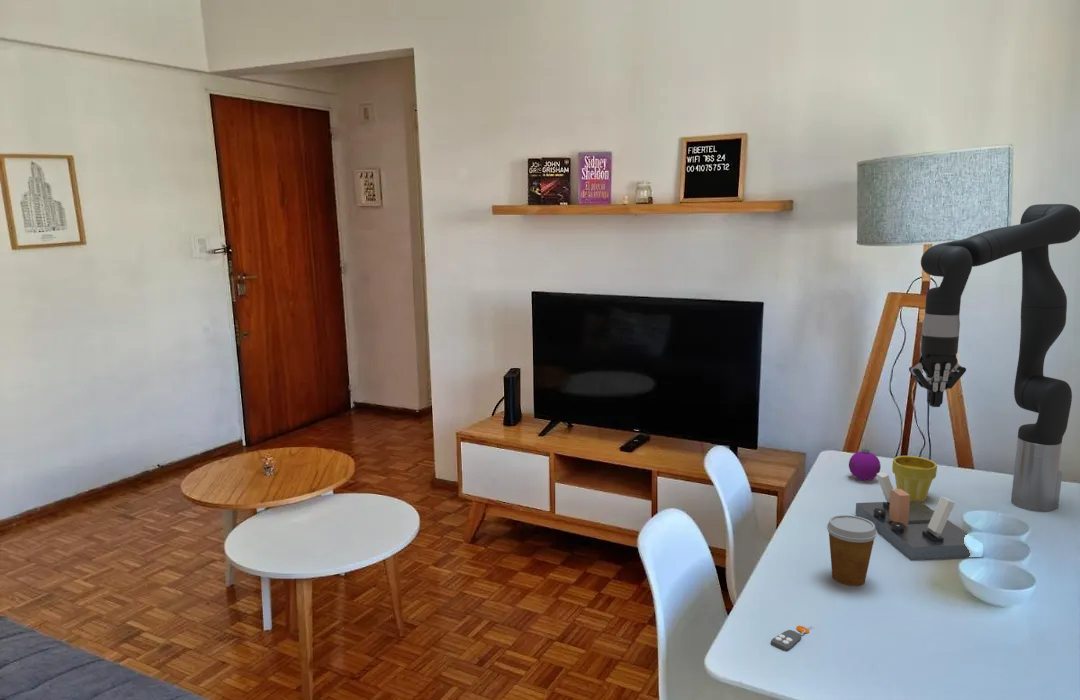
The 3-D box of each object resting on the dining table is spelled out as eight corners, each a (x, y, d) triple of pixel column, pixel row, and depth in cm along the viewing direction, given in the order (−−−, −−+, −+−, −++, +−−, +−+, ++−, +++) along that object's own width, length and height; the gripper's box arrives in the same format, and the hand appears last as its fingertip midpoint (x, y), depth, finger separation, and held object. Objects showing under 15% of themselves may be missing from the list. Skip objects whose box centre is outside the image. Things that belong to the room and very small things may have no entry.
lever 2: (930, 531, 165) (945, 497, 164) (940, 538, 161) (956, 503, 160) (924, 529, 165) (939, 495, 163) (934, 536, 161) (950, 501, 160)
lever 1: (891, 500, 181) (881, 470, 180) (899, 506, 178) (889, 476, 176) (885, 502, 181) (875, 473, 180) (894, 508, 178) (883, 478, 176)
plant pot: (942, 504, 189) (945, 468, 187) (901, 505, 189) (903, 468, 188) (922, 489, 199) (925, 455, 197) (883, 490, 199) (885, 455, 198)
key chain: (788, 655, 127) (788, 647, 126) (768, 646, 129) (769, 638, 129) (825, 626, 135) (825, 619, 135) (806, 618, 138) (806, 611, 138)
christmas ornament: (848, 473, 213) (850, 439, 211) (879, 476, 210) (881, 442, 208) (847, 482, 206) (849, 448, 204) (879, 486, 202) (882, 451, 201)
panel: (917, 511, 185) (918, 494, 184) (982, 557, 160) (984, 537, 159) (855, 514, 184) (856, 497, 183) (911, 560, 159) (912, 540, 158)
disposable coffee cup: (871, 571, 155) (875, 517, 153) (875, 592, 146) (880, 535, 144) (823, 564, 158) (826, 511, 156) (824, 585, 149) (827, 529, 147)
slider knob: (898, 517, 173) (900, 488, 172) (908, 524, 169) (910, 495, 168) (888, 518, 173) (890, 489, 172) (897, 525, 169) (900, 495, 168)
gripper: (958, 330, 174) (951, 401, 177) (903, 331, 173) (898, 403, 176) (978, 335, 167) (971, 409, 170) (921, 336, 166) (916, 411, 169)
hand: (934, 406), depth 173 cm, fingers closed
